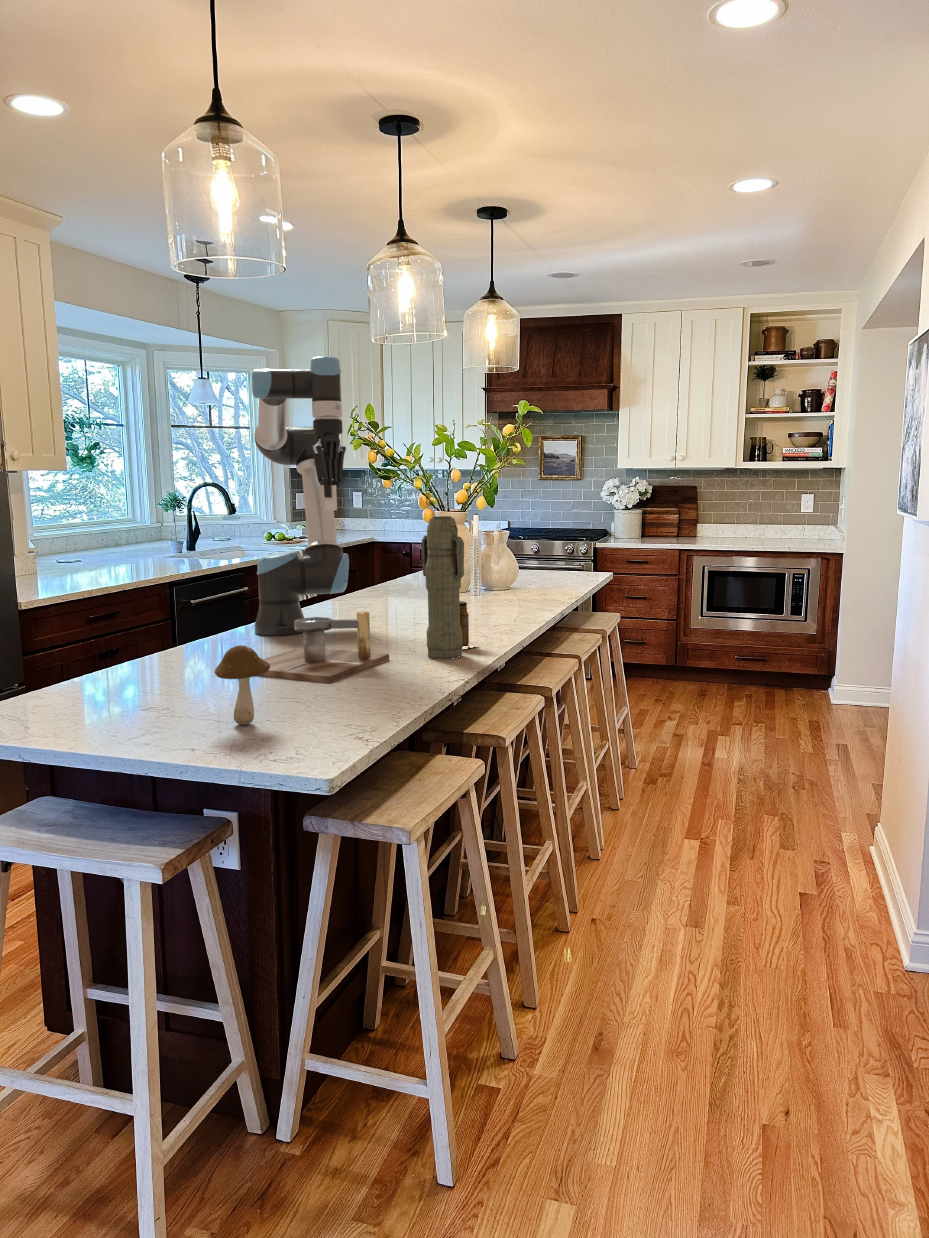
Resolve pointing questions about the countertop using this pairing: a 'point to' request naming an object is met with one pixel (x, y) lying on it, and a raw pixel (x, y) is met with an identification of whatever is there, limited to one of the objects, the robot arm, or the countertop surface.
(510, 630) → the countertop surface
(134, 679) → the countertop surface
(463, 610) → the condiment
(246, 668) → the mushroom
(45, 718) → the countertop surface
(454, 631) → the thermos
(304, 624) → the crank handle
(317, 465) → the robot arm
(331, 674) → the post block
